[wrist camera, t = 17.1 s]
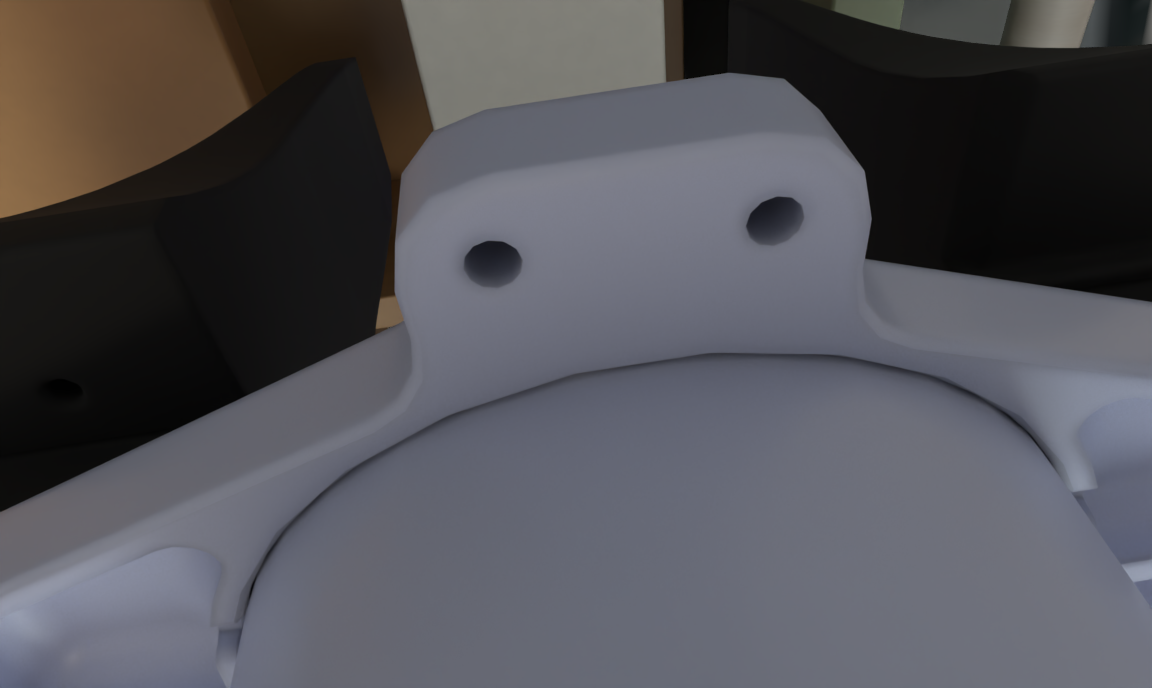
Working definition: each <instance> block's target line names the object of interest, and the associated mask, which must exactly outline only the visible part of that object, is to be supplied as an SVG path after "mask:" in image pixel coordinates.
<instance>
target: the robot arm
mask: <svg viewBox="0 0 1152 688" xmlns="http://www.w3.org/2000/svg"><path fill="white" fill-rule="evenodd" d="M391 224H392V192H391V173H390V169H389V166H388V163H387V159H386V156H385V153H384V150H383V146H382V143H381V140H380V136H379V133H378V130H377V126H376V123H375V120H374V116H373V113H372V110H371V106H370V103H369V100H368V96H367V93H366V90H365V86H364V83H363V80H362V76H361V73H360V70H359V66H358V63H357V60H356V57H351V58H344V59H338V60H331V61H325V62H318V63H314V64H312V65H309V66H307V67H305V68H304V69H302V70H301V71H299V72H298V73H296V74H295V75H294V76H292V77H291V78H289V79H288V80H287V81H285V82H284V83H283V84H281V85H280V86H279V87H278V88H276V89H275V90H274V91H272V92H271V93H270V94H268V95H267V96H266V97H264V98H263V99H262V100H260V101H259V102H258V103H257V104H255V105H254V106H253V107H251V108H250V109H248V110H247V111H246V112H244V113H243V114H241V115H240V116H238V117H237V118H235V119H234V120H232V121H231V122H230V123H228V124H227V125H225V126H224V127H222V128H221V129H219V130H218V131H217V132H215V133H214V134H212V135H211V136H209V137H207V138H206V139H204V140H202V141H201V142H199V143H197V144H196V145H194V146H192V147H190V148H189V149H187V150H185V151H183V152H181V153H179V154H177V155H175V156H174V157H172V158H170V159H168V160H166V161H164V162H162V163H160V164H158V165H156V166H154V167H151V168H149V169H147V170H144V171H142V172H139V173H137V174H135V175H132V176H130V177H127V178H125V179H123V180H120V181H118V182H115V183H113V184H110V185H108V186H106V187H103V188H101V189H98V190H95V191H92V192H89V193H86V194H83V195H80V196H77V197H74V198H71V199H68V200H65V201H62V202H59V203H55V204H52V205H49V206H45V207H42V208H38V209H35V210H31V211H28V212H24V213H20V214H16V215H12V216H8V217H4V218H0V688H1152V44H1147V45H1137V46H1122V47H1089V48H1036V47H1019V46H1002V45H988V44H979V43H969V42H963V41H956V40H950V39H943V38H936V37H930V36H925V35H920V34H915V33H910V32H906V31H902V30H898V29H894V28H890V27H886V26H882V25H878V24H875V23H871V22H868V21H864V20H861V19H858V18H854V17H851V16H848V15H845V14H842V13H838V12H835V11H832V10H829V9H826V8H823V7H820V6H817V5H813V4H810V3H807V2H804V1H800V0H731V1H729V24H728V66H727V73H724V74H717V75H711V76H704V77H698V78H691V79H684V80H678V81H671V82H665V83H658V84H651V85H645V86H638V87H631V88H625V89H618V90H612V91H605V92H598V93H592V94H585V95H578V96H572V97H565V98H559V99H552V100H545V101H539V102H532V103H526V104H519V105H512V106H506V107H499V108H492V109H486V110H483V111H480V112H478V113H476V114H473V115H471V116H468V117H466V118H464V119H461V120H459V121H457V122H454V123H452V124H450V125H447V126H445V127H442V128H440V129H438V130H435V131H433V132H431V134H430V135H429V137H428V138H427V139H426V141H425V142H424V144H423V145H422V146H421V148H420V149H419V150H418V152H417V153H416V155H415V156H414V157H413V159H412V160H411V162H410V163H409V164H408V166H407V167H406V168H405V170H404V171H403V173H402V175H401V185H400V196H399V206H398V216H397V227H396V237H395V295H396V298H397V301H398V304H399V307H400V310H401V313H402V316H403V319H404V320H403V321H402V322H401V323H399V324H397V325H395V326H393V327H391V328H389V329H386V330H384V331H382V332H380V333H378V334H376V335H375V332H376V322H377V316H378V309H379V303H380V297H381V290H382V284H383V278H384V271H385V265H386V259H387V252H388V245H389V239H390V232H391Z"/></svg>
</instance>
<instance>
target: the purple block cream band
mask: <svg viewBox="0 0 1152 688" xmlns="http://www.w3.org/2000/svg"><path fill="white" fill-rule="evenodd" d="M401 3H402V7H403V11H404V15H405V19H406V23H407V27H408V31H409V35H410V39H411V43H412V47H413V51H414V55H415V59H416V63H417V67H418V71H419V75H420V79H421V83H422V87H423V91H424V95H425V99H426V103H427V107H428V111H429V115H430V119H431V123H432V127H433V131H435V130H438V129H440V128H442V127H445V126H447V125H450V124H452V123H454V122H457V121H459V120H461V119H464V118H466V117H468V116H471V115H473V114H476V113H478V112H480V111H483V110H486V109H492V108H499V107H506V106H512V105H519V104H526V103H532V102H539V101H545V100H552V99H559V98H565V97H572V96H578V95H585V94H592V93H598V92H605V91H612V90H618V89H625V88H631V87H638V86H645V85H651V84H658V83H665V82H666V60H665V27H664V0H401Z"/></svg>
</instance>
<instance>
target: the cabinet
mask: <svg viewBox="0 0 1152 688" xmlns="http://www.w3.org/2000/svg"><path fill="white" fill-rule="evenodd" d="M266 96H267V95H266V93H265V90H264V88H263V85H262V83H261V80H260V77H259V75H258V72H257V70H256V67H255V65H254V62H253V60H252V57H251V55H250V52H249V50H248V47H247V44H246V42H245V39H244V37H243V34H242V32H241V29H240V27H239V24H238V22H237V19H236V16H235V14H234V11H233V9H232V6H231V4H230V1H229V0H0V218H4V217H8V216H12V215H16V214H20V213H24V212H28V211H31V210H35V209H38V208H42V207H45V206H49V205H52V204H55V203H59V202H62V201H65V200H68V199H71V198H74V197H77V196H80V195H83V194H86V193H89V192H92V191H95V190H98V189H101V188H103V187H106V186H108V185H110V184H113V183H115V182H118V181H120V180H123V179H125V178H127V177H130V176H132V175H135V174H137V173H139V172H142V171H144V170H147V169H149V168H151V167H154V166H156V165H158V164H160V163H162V162H164V161H166V160H168V159H170V158H172V157H174V156H175V155H177V154H179V153H181V152H183V151H185V150H187V149H189V148H190V147H192V146H194V145H196V144H197V143H199V142H201V141H202V140H204V139H206V138H207V137H209V136H211V135H212V134H214V133H215V132H217V131H218V130H219V129H221V128H222V127H224V126H225V125H227V124H228V123H230V122H231V121H232V120H234V119H235V118H237V117H238V116H240V115H241V114H243V113H244V112H246V111H247V110H248V109H250V108H251V107H253V106H254V105H255V104H257V103H258V102H259V101H260V100H262V99H263V98H264V97H266ZM386 329H387V327H386V328H379V329H376V332H375V335H376V334H378V333H380V332H382V331H384V330H386Z"/></svg>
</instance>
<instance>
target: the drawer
mask: <svg viewBox="0 0 1152 688" xmlns="http://www.w3.org/2000/svg"><path fill="white" fill-rule="evenodd" d="M229 1H230V4H231V6H232V9H233V11H234V14H235V16H236V19H237V22H238V24H239V27H240V29H241V32H242V34H243V37H244V39H245V42H246V44H247V47H248V50H249V52H250V55H251V57H252V60H253V62H254V65H255V67H256V70H257V72H258V75H259V77H260V80H261V83H262V85H263V88H264V90H265V93H266V95H268V94H270V93H271V92H272V91H274V90H275V89H276V88H278V87H279V86H280V85H281V84H283V83H284V82H285V81H287V80H288V79H289V78H291V77H292V76H294V75H295V74H296V73H298V72H299V71H301V70H302V69H304V68H305V67H307V66H309V65H312V64H314V63H318V62H325V61H331V60H338V59H344V58H351V57H356V60H357V63H358V66H359V70H360V73H361V76H362V80H363V83H364V86H365V90H366V93H367V96H368V100H369V103H370V106H371V110H372V113H373V116H374V120H375V123H376V126H377V130H378V133H379V136H380V140H381V143H382V146H383V150H384V153H385V156H386V159H387V163H388V166H389V169H390V173H391V192H392V224H391V232H390V239H389V245H388V252H387V259H386V265H385V271H384V278H383V284H382V290H381V297H380V303H379V309H378V316H377V322H376V329H379V328H386V327H392V326H395V325H397V324H399V323H401V322H402V321H403V320H404V319H403V316H402V313H401V310H400V307H399V304H398V301H397V298H396V295H395V237H396V227H397V216H398V206H399V196H400V185H401V175H402V173H403V171H404V170H405V168H406V167H407V166H408V164H409V163H410V162H411V160H412V159H413V157H414V156H415V155H416V153H417V152H418V150H419V149H420V148H421V146H422V145H423V144H424V142H425V141H426V139H427V138H428V137H429V135H430V134H431V132H433V127H432V123H431V119H430V115H429V111H428V107H427V103H426V99H425V95H424V91H423V87H422V83H421V79H420V75H419V71H418V67H417V63H416V59H415V55H414V51H413V47H412V43H411V39H410V35H409V31H408V27H407V23H406V19H405V15H404V11H403V7H402V3H401V0H229ZM800 1H804V2H807V3H810V4H813V5H817V6H820V7H823V8H826V9H829V10H832V11H835V12H838V13H842V14H845V15H848V16H851V17H854V18H858V19H861V20H864V21H868V22H871V23H875V24H878V25H882V26H886V27H890V28H894V29H898V30H899V28H900V23H901V17H902V11H903V5H904V0H800ZM1094 2H1095V0H1011V4H1010V8H1009V11H1008V15H1007V19H1006V23H1005V27H1004V31H1003V34H1002V38H1001V42H1000V45H1002V46H1019V47H1036V48H1079V47H1080V44H1081V41H1082V38H1083V35H1084V32H1085V29H1086V26H1087V23H1088V20H1089V17H1090V14H1091V11H1092V8H1093V5H1094ZM664 27H665V60H666V82H671V81H678V80H684V24H683V0H664Z"/></svg>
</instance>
